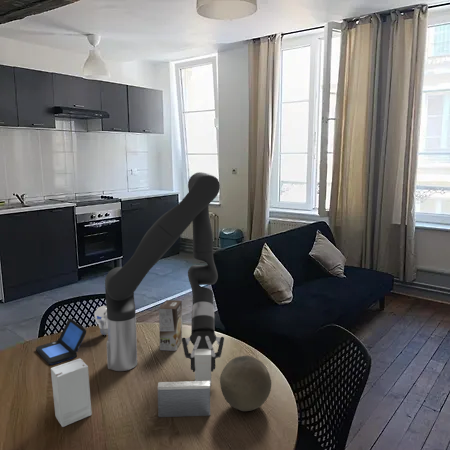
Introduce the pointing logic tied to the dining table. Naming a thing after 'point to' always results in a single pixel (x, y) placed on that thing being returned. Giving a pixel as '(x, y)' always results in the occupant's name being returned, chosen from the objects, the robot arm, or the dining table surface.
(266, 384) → the cantaloupe
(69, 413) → the skincare box
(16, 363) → the dining table surface
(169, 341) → the coffee box
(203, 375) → the block
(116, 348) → the robot arm
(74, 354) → the handheld game console
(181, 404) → the grey flat box
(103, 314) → the light bulb
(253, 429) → the dining table surface
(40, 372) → the dining table surface
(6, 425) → the dining table surface
